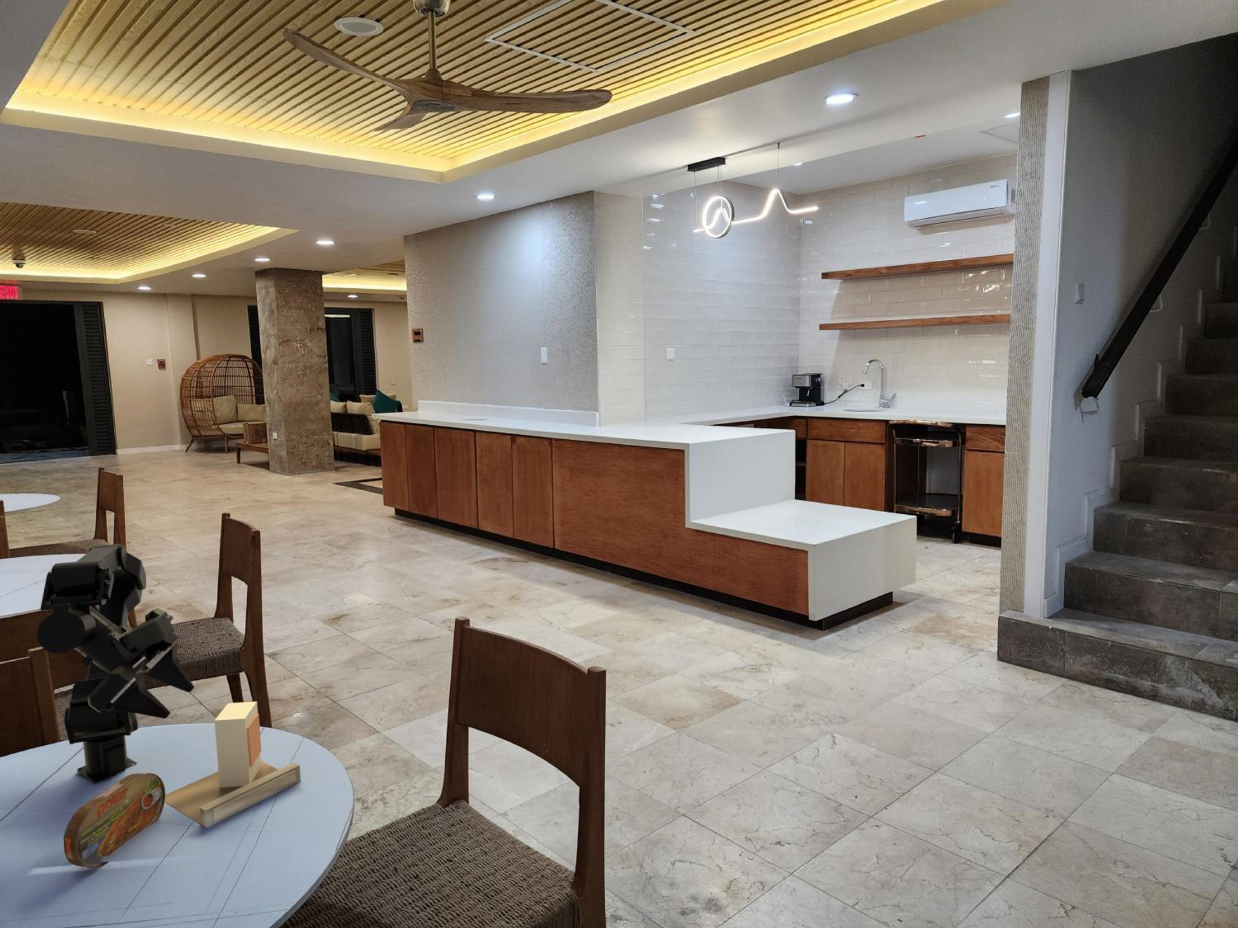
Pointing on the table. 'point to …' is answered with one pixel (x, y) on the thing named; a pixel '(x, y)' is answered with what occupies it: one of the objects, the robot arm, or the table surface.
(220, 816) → the shelf
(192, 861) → the table surface
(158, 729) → the table surface
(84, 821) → the tin
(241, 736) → the carton
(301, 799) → the table surface
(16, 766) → the table surface
